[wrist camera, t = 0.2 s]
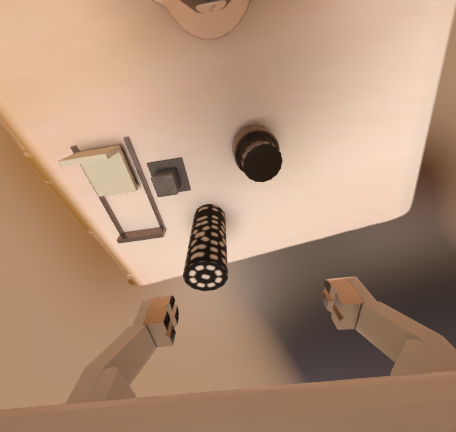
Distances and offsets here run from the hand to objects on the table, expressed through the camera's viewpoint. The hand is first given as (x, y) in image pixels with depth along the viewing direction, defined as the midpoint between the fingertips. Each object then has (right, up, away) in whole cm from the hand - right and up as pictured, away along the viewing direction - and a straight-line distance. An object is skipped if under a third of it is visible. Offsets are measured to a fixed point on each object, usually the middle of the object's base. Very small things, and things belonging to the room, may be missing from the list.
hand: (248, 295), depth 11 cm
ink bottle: (+4, +20, +34) cm, 39 cm away
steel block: (-15, +13, +36) cm, 41 cm away
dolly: (-27, +15, +35) cm, 47 cm away
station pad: (-15, +14, +37) cm, 42 cm away
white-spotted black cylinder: (-6, +4, +44) cm, 44 cm away
